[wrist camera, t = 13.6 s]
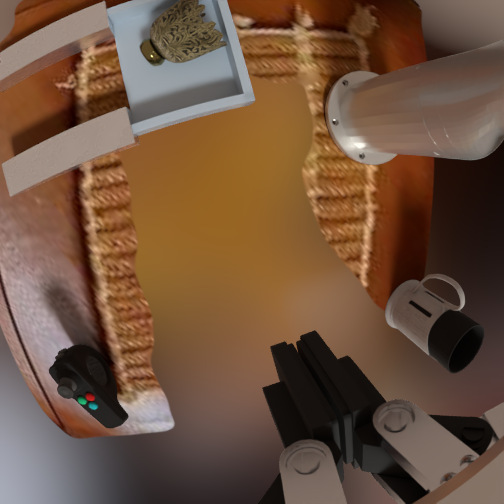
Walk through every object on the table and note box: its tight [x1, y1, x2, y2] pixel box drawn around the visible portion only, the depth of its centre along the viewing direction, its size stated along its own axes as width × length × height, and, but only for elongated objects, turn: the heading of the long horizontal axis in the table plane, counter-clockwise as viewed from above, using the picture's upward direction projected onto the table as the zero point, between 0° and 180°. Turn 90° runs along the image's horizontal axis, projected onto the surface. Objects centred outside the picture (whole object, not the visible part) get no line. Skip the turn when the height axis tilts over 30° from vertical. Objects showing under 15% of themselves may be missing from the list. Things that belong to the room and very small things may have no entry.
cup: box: [139, 0, 227, 67], centre depth 26 cm, size 8×7×8 cm
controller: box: [49, 344, 128, 428], centre depth 33 cm, size 4×12×10 cm, turn 26°
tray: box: [107, 0, 255, 136], centre depth 28 cm, size 13×16×3 cm
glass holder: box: [385, 274, 484, 373], centre depth 38 cm, size 9×14×15 cm, turn 21°
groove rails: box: [0, 1, 140, 197], centre depth 26 cm, size 16×18×4 cm
